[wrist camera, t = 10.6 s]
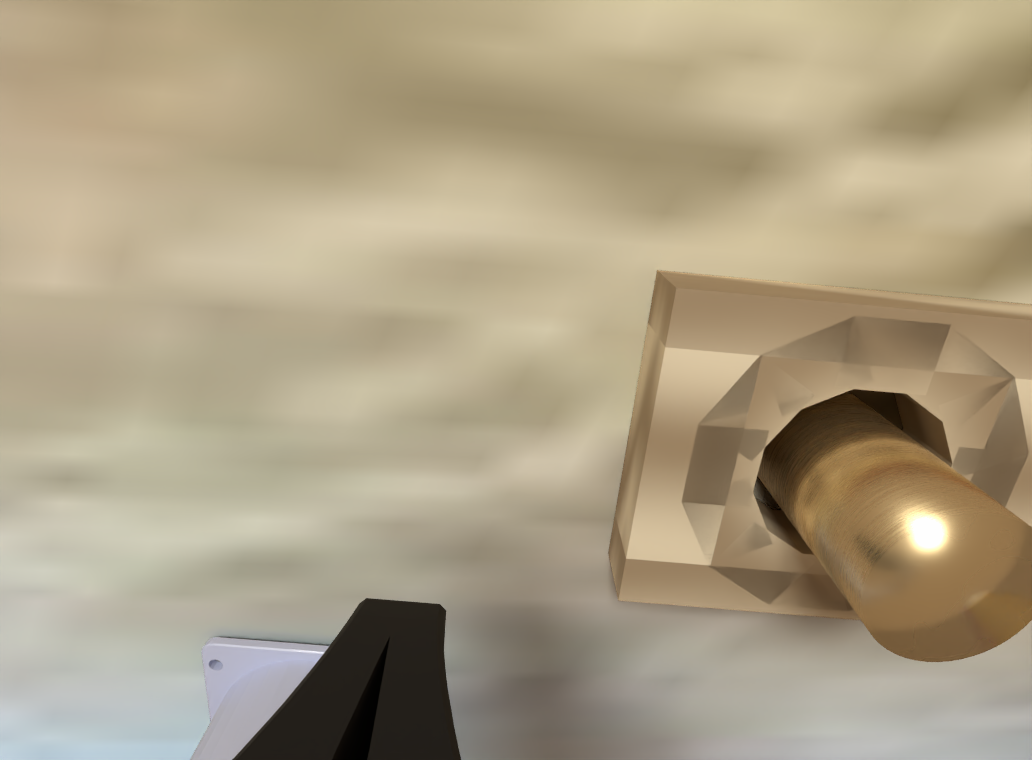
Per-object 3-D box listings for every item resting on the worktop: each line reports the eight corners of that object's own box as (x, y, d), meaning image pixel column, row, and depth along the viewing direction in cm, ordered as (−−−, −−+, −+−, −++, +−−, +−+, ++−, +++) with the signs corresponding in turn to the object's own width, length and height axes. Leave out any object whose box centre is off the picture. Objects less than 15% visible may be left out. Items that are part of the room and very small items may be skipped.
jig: (943, 580, 21) (991, 630, 19) (608, 552, 21) (618, 600, 19) (1058, 307, 18) (1134, 329, 16) (657, 270, 18) (676, 288, 15)
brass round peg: (855, 501, 20) (1013, 668, 14) (738, 493, 20) (840, 655, 14) (891, 392, 19) (1084, 519, 12) (765, 382, 19) (894, 505, 12)
